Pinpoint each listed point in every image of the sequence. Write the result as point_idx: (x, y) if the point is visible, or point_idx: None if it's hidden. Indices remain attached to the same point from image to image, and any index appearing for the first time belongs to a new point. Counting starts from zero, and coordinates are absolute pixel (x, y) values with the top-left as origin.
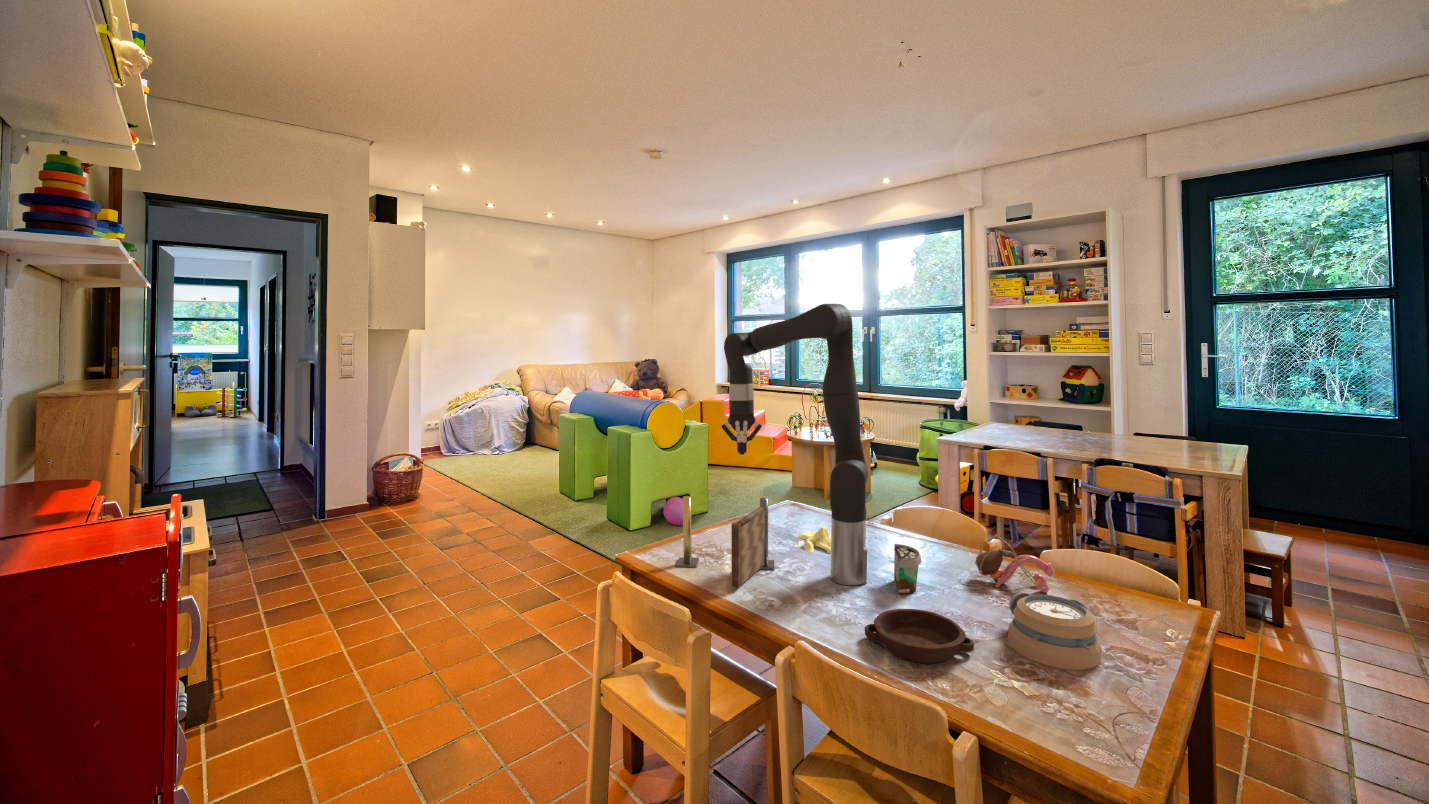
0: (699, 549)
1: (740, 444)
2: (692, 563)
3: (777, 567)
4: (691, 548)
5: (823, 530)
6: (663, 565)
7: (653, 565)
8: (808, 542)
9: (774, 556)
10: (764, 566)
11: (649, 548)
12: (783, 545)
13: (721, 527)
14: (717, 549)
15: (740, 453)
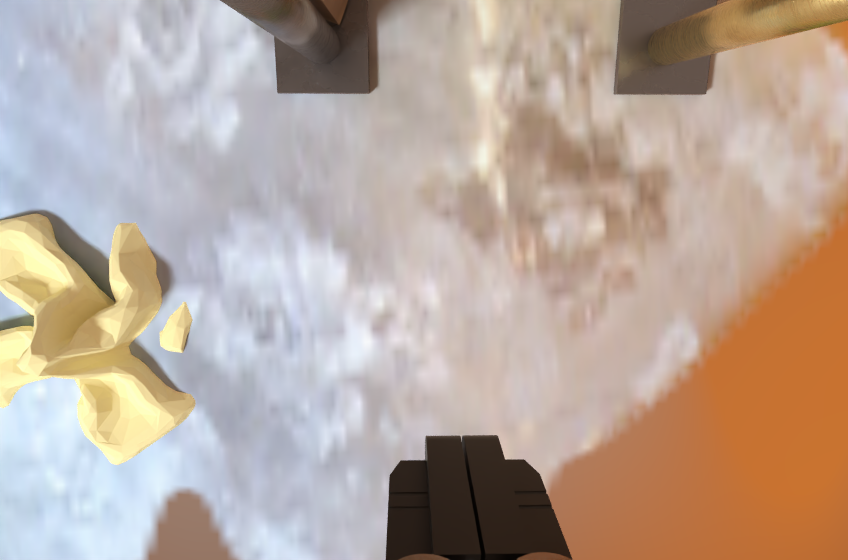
0: (615, 223)
1: (504, 531)
2: (643, 19)
3: None
4: (674, 34)
5: (33, 337)
6: None
7: None
8: (126, 282)
9: (281, 162)
10: None
11: (837, 219)
12: (248, 299)
13: None
14: (536, 229)
15: (483, 437)
